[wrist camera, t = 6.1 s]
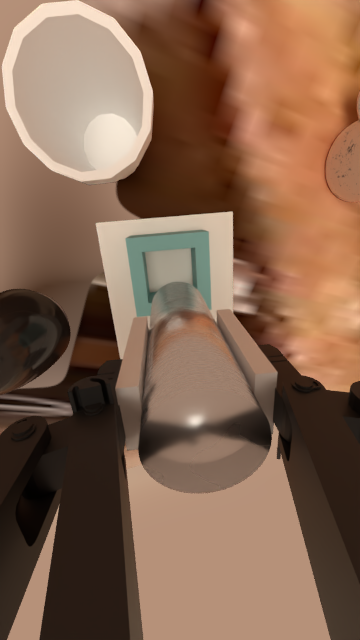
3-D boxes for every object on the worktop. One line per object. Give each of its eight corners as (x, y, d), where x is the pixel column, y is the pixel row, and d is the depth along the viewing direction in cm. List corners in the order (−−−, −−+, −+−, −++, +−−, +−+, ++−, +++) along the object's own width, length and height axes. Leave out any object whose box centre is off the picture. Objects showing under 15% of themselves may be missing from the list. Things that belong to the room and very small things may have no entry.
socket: (139, 304, 34) (136, 317, 30) (129, 235, 31) (125, 238, 27) (205, 298, 35) (211, 309, 31) (202, 229, 32) (208, 231, 27)
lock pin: (154, 334, 21) (146, 500, 9) (148, 284, 19) (129, 399, 7) (205, 329, 21) (268, 485, 9) (203, 279, 19) (275, 383, 7)
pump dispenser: (13, 357, 37) (-75, 442, 23) (-13, 285, 34) (-137, 336, 19) (86, 349, 38) (42, 428, 24) (68, 277, 34) (4, 321, 20)
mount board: (131, 409, 42) (127, 439, 37) (98, 222, 32) (85, 223, 26) (231, 398, 43) (241, 425, 37) (229, 211, 32) (244, 210, 27)
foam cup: (151, 200, 31) (146, 190, 19) (70, 190, 30) (12, 172, 18) (158, 102, 28) (157, 15, 16) (67, 87, 27) (-7, -17, 15)
